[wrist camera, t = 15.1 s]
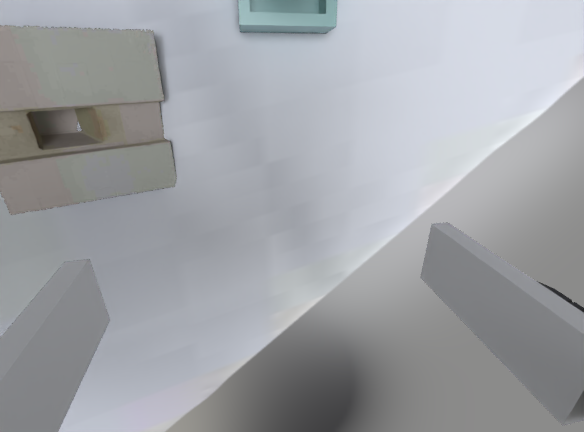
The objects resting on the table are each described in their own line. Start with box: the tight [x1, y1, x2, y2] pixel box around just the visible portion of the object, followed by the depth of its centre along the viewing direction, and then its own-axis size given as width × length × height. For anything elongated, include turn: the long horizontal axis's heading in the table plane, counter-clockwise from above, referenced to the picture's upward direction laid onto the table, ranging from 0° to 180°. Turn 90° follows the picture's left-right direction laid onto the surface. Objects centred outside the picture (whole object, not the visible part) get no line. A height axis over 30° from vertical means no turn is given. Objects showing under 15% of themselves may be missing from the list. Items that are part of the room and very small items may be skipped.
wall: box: [0, 25, 176, 215], centre depth 30 cm, size 16×9×15 cm
